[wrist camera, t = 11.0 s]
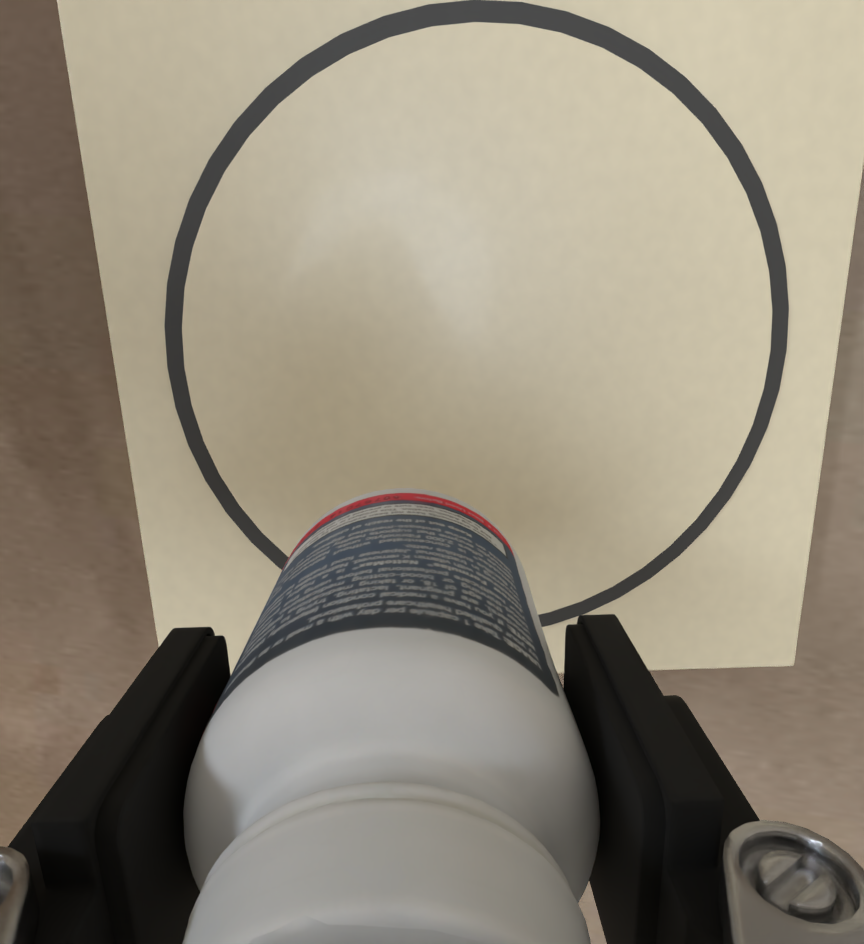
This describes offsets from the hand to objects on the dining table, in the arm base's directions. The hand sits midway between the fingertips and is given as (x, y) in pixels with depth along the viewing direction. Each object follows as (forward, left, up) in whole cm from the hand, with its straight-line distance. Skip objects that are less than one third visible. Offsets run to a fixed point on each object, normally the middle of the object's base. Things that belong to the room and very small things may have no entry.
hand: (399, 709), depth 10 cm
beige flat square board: (-4, +2, -10) cm, 11 cm away
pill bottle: (0, 0, -4) cm, 4 cm away
